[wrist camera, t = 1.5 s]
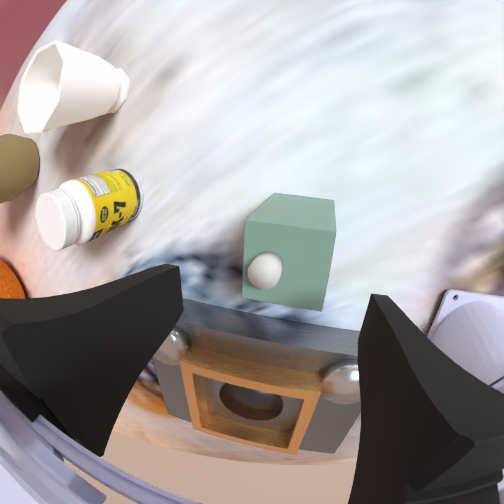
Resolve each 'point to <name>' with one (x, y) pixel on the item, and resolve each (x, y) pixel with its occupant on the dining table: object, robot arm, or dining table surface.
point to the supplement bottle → (88, 207)
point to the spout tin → (289, 251)
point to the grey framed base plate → (260, 378)
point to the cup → (68, 88)
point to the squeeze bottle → (17, 165)
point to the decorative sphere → (9, 283)
